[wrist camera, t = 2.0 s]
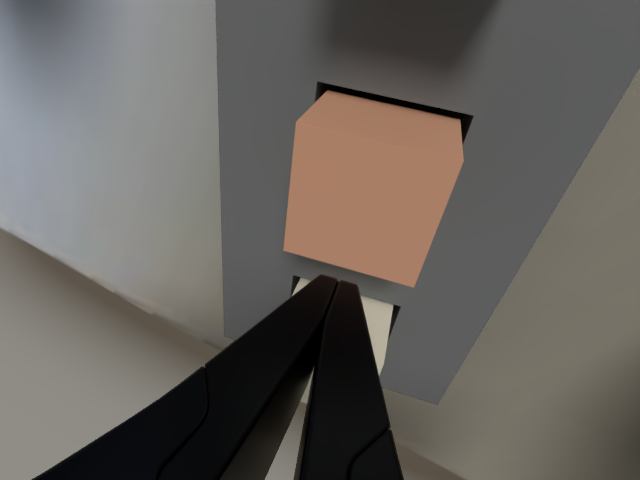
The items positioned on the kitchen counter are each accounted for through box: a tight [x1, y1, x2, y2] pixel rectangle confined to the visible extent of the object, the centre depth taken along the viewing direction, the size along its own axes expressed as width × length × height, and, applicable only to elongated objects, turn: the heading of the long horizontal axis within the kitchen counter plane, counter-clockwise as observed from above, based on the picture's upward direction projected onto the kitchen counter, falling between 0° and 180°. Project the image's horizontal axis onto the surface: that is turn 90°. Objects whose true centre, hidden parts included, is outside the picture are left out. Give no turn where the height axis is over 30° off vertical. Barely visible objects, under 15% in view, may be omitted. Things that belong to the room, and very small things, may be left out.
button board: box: [216, 0, 640, 405], centre depth 14 cm, size 12×24×2 cm, turn 171°
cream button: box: [292, 278, 394, 404], centre depth 18 cm, size 4×4×3 cm
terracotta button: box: [283, 90, 464, 287], centre depth 12 cm, size 4×4×3 cm
